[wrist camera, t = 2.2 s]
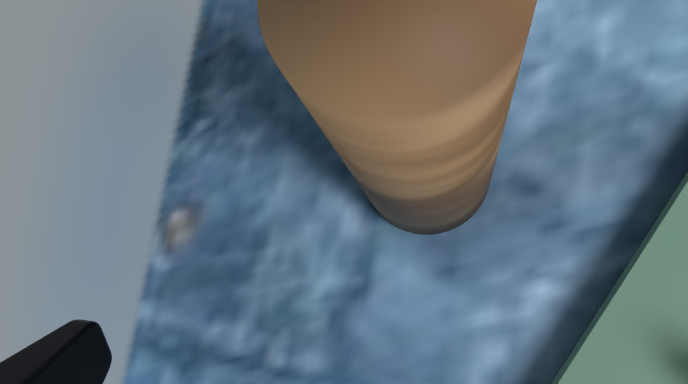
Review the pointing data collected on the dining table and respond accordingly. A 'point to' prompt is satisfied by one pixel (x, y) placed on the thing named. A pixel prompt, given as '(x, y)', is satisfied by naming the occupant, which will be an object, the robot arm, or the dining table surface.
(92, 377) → the robot arm
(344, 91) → the walnut cylinder
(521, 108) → the dining table surface
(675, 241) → the standoff plate
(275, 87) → the dining table surface
